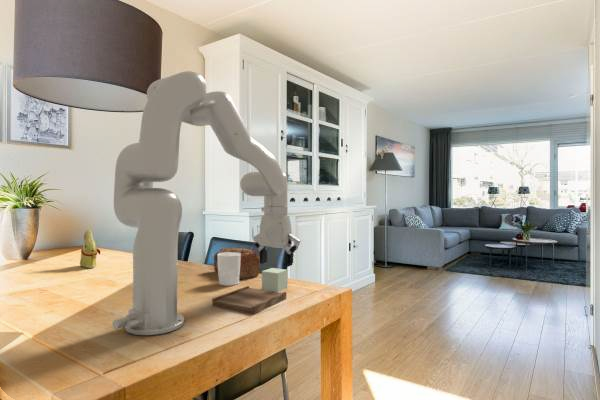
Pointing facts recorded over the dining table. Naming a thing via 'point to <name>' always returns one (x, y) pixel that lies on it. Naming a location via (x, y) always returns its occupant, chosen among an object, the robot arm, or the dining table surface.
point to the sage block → (274, 279)
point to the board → (248, 300)
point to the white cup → (229, 268)
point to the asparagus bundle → (88, 251)
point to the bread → (243, 262)
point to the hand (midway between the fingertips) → (276, 264)
